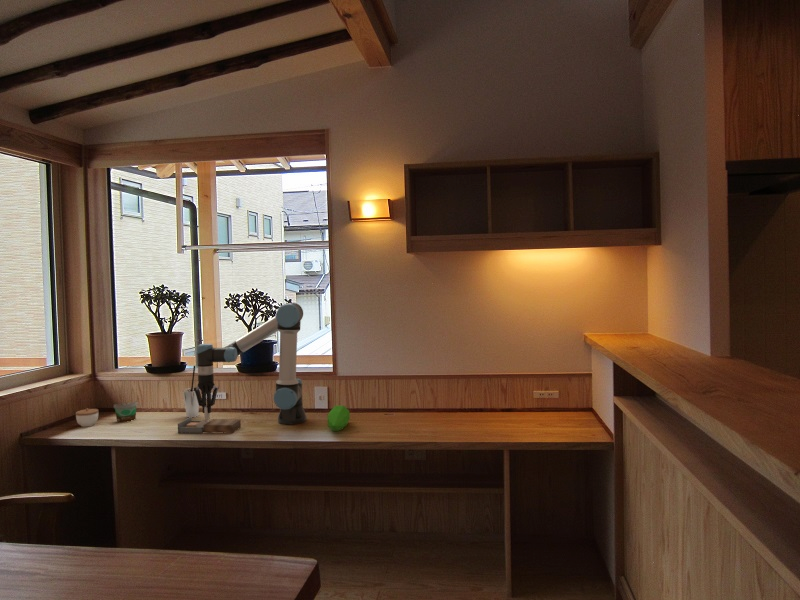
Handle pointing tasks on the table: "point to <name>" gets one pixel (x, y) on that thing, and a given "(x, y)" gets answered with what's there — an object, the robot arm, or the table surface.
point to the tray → (184, 429)
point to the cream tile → (202, 423)
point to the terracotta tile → (192, 424)
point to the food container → (125, 411)
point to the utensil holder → (191, 400)
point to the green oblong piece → (338, 418)
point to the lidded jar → (87, 417)
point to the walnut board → (222, 425)
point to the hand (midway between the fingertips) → (207, 419)
